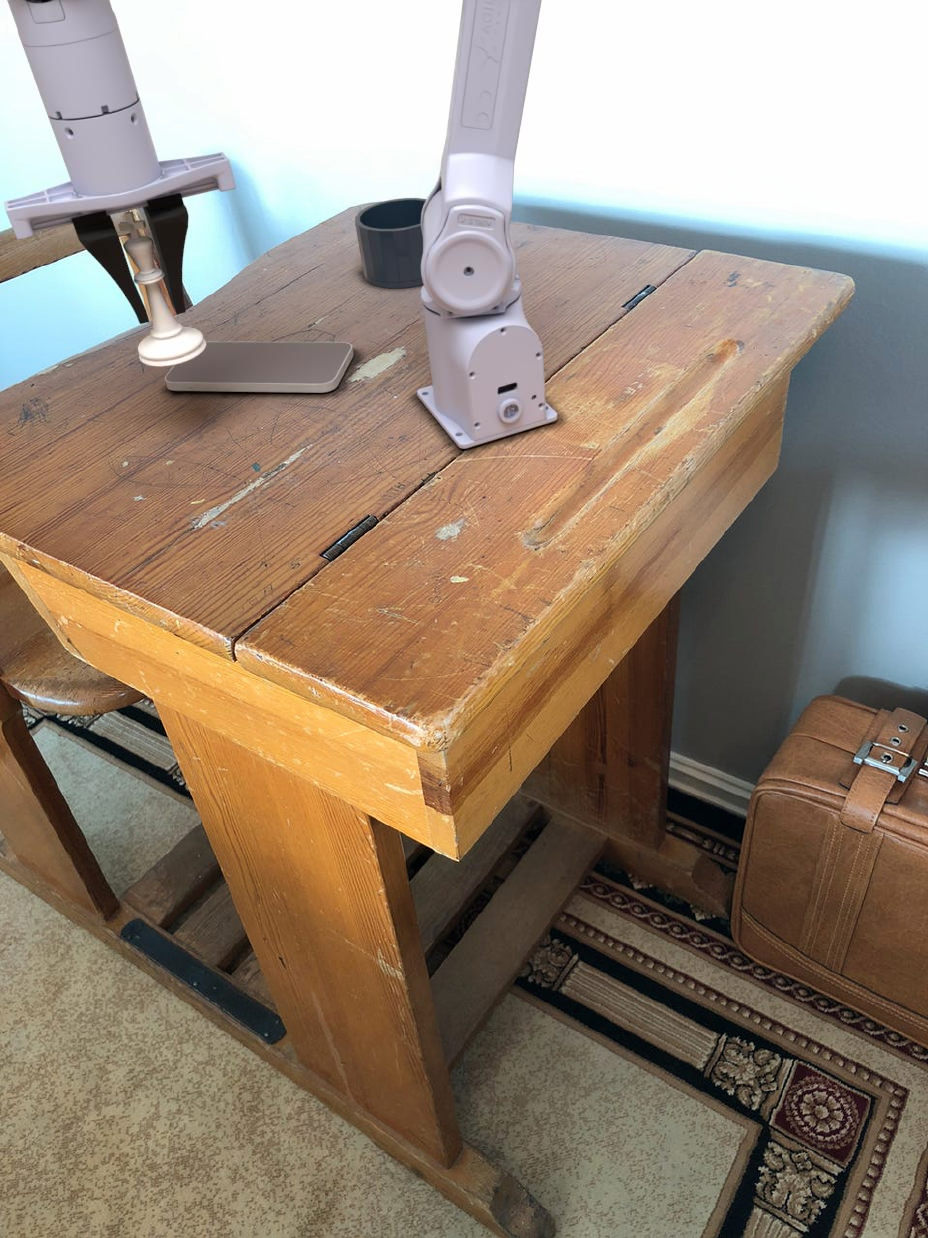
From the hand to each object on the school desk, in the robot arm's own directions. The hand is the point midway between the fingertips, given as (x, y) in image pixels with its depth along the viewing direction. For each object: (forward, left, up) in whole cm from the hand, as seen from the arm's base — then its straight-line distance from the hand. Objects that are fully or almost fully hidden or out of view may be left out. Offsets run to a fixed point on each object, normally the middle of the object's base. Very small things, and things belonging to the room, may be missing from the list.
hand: (161, 313), depth 70 cm
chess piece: (0, 0, -3) cm, 3 cm away
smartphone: (+7, -7, -10) cm, 14 cm away
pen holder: (+20, -25, -10) cm, 33 cm away
